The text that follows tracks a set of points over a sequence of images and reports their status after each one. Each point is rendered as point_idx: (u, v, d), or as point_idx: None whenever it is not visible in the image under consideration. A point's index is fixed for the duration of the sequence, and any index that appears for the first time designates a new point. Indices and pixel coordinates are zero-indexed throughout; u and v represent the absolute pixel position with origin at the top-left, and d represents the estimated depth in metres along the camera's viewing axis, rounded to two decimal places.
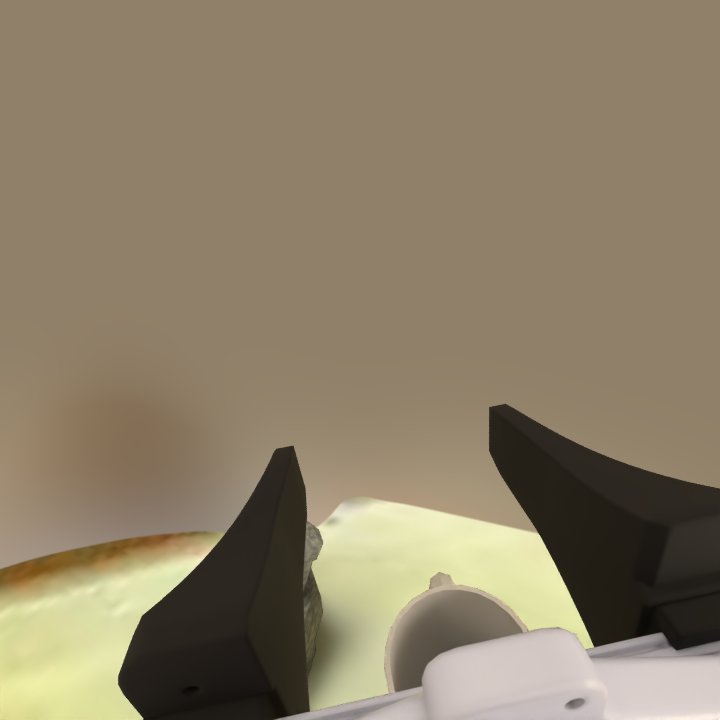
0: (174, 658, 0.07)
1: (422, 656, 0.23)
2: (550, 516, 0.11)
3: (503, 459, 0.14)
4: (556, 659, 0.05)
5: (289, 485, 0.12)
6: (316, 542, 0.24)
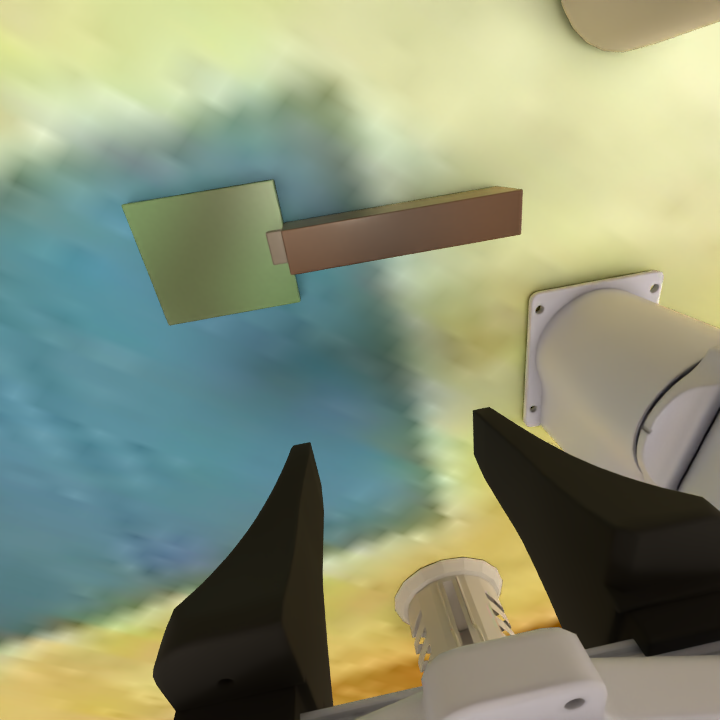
0: (209, 651, 0.07)
1: None
2: (530, 520, 0.11)
3: (486, 463, 0.14)
4: (556, 659, 0.05)
5: (308, 481, 0.12)
6: None
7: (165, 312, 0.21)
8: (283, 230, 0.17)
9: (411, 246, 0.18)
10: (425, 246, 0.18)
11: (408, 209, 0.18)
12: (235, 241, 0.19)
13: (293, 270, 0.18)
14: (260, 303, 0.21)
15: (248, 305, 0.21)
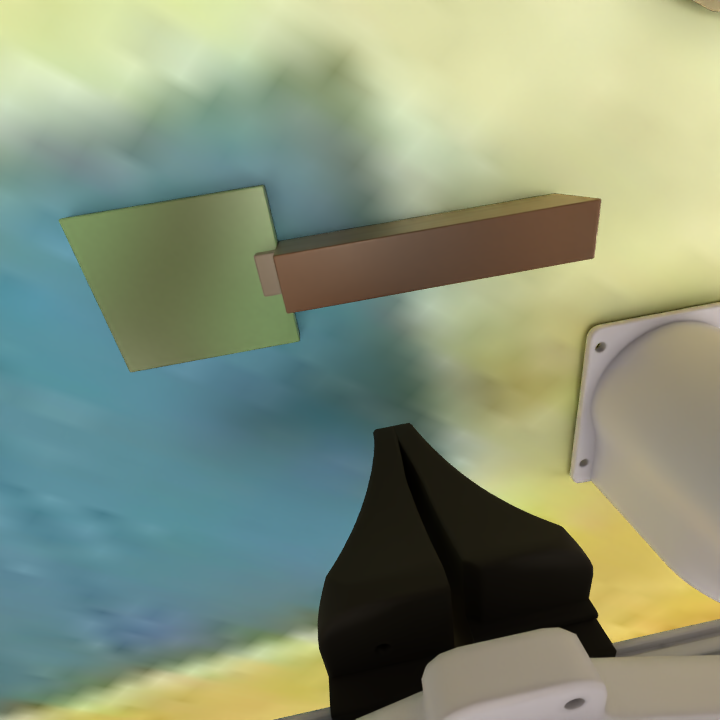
0: (379, 614, 0.07)
1: None
2: (430, 541, 0.11)
3: None
4: (556, 659, 0.05)
5: None
6: None
7: (124, 356, 0.16)
8: (276, 255, 0.13)
9: (448, 275, 0.14)
10: (467, 275, 0.14)
11: (446, 226, 0.13)
12: (214, 266, 0.15)
13: (290, 307, 0.13)
14: (248, 344, 0.16)
15: (233, 346, 0.16)
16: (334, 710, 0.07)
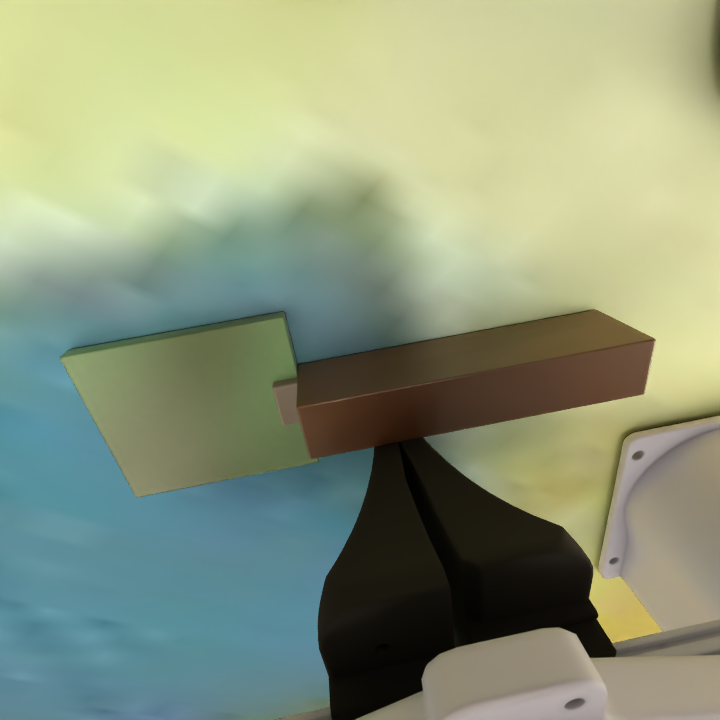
0: (379, 614, 0.07)
1: None
2: (430, 541, 0.11)
3: None
4: (556, 659, 0.05)
5: None
6: None
7: (130, 482, 0.15)
8: (299, 404, 0.12)
9: (486, 416, 0.12)
10: (506, 415, 0.13)
11: (487, 371, 0.12)
12: (228, 395, 0.14)
13: (313, 454, 0.12)
14: (263, 466, 0.15)
15: (247, 469, 0.15)
16: (334, 710, 0.07)
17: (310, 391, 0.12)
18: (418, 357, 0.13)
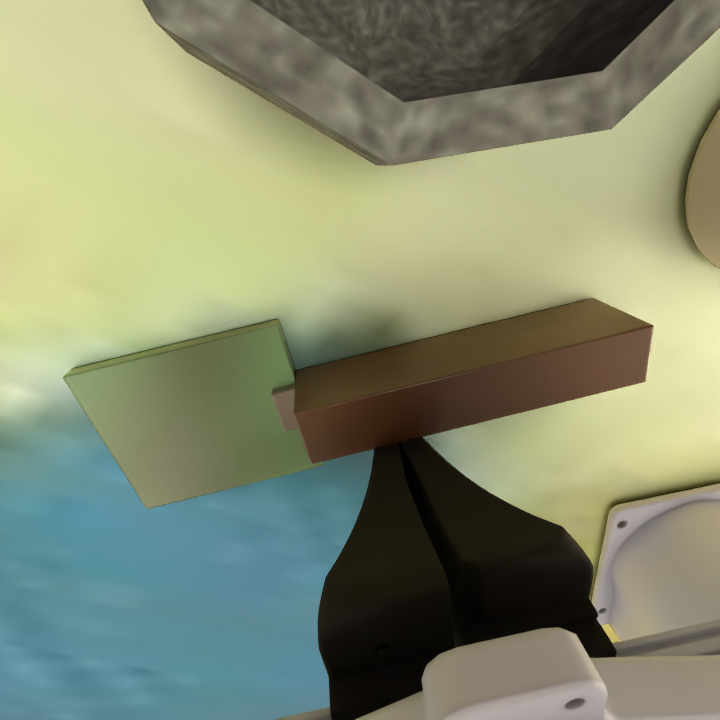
0: (378, 614, 0.07)
1: None
2: (430, 541, 0.11)
3: None
4: (556, 659, 0.05)
5: None
6: None
7: (140, 494, 0.15)
8: (297, 411, 0.12)
9: (485, 413, 0.12)
10: (506, 410, 0.12)
11: (482, 367, 0.12)
12: (229, 405, 0.14)
13: (314, 459, 0.12)
14: (269, 472, 0.15)
15: (253, 476, 0.15)
16: (334, 710, 0.07)
17: (307, 397, 0.12)
18: (414, 357, 0.13)
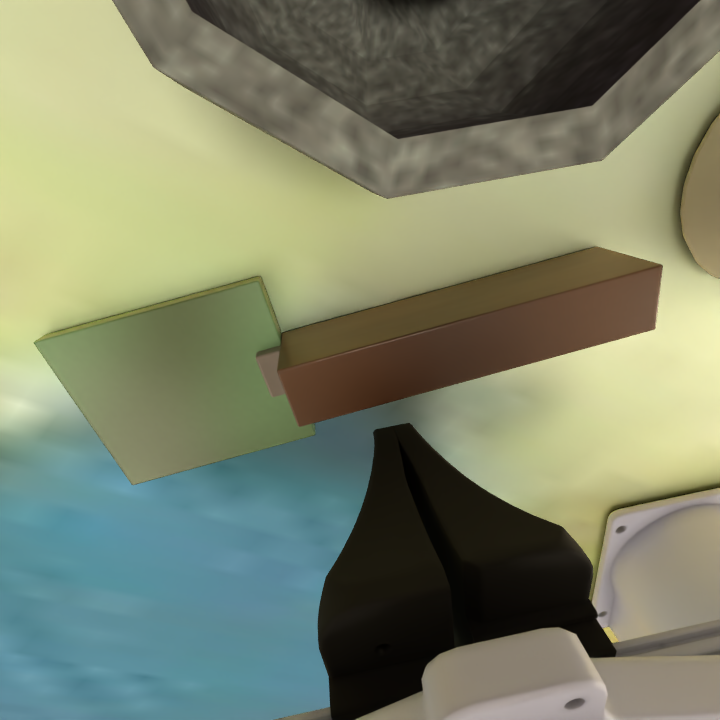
0: (379, 614, 0.07)
1: None
2: (430, 541, 0.11)
3: None
4: (556, 659, 0.05)
5: None
6: None
7: (124, 469, 0.14)
8: (280, 368, 0.11)
9: (483, 367, 0.12)
10: (505, 364, 0.12)
11: (477, 316, 0.11)
12: (212, 370, 0.13)
13: (301, 421, 0.12)
14: (258, 443, 0.14)
15: (242, 447, 0.14)
16: (334, 710, 0.07)
17: (292, 355, 0.11)
18: (405, 311, 0.12)
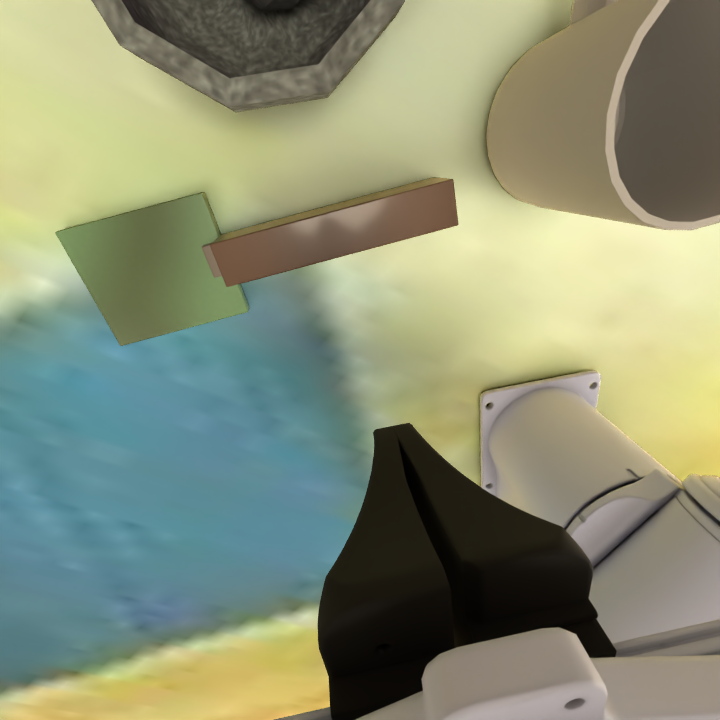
0: (379, 614, 0.07)
1: None
2: (430, 541, 0.11)
3: None
4: (556, 659, 0.05)
5: None
6: None
7: (115, 334, 0.21)
8: (212, 243, 0.17)
9: (345, 247, 0.18)
10: (359, 246, 0.18)
11: (336, 210, 0.17)
12: (173, 257, 0.19)
13: (228, 282, 0.18)
14: (208, 316, 0.21)
15: (196, 319, 0.21)
16: (334, 710, 0.07)
17: (221, 238, 0.18)
18: (299, 215, 0.19)
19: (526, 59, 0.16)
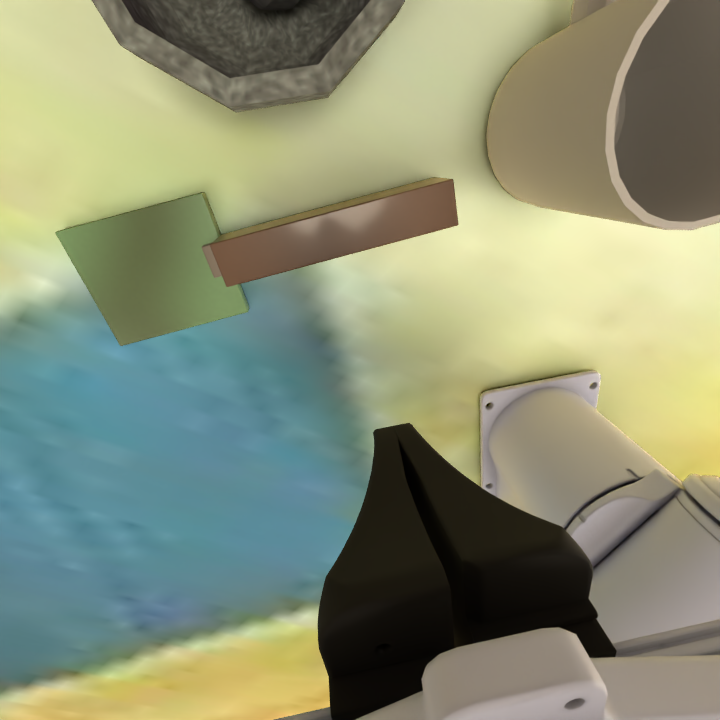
0: (379, 614, 0.07)
1: None
2: (430, 541, 0.11)
3: None
4: (556, 659, 0.05)
5: None
6: None
7: (115, 334, 0.21)
8: (212, 243, 0.17)
9: (345, 247, 0.18)
10: (359, 246, 0.18)
11: (336, 210, 0.17)
12: (173, 257, 0.19)
13: (228, 282, 0.18)
14: (208, 316, 0.21)
15: (196, 319, 0.21)
16: (334, 710, 0.07)
17: (221, 238, 0.18)
18: (299, 215, 0.19)
19: (526, 59, 0.16)
